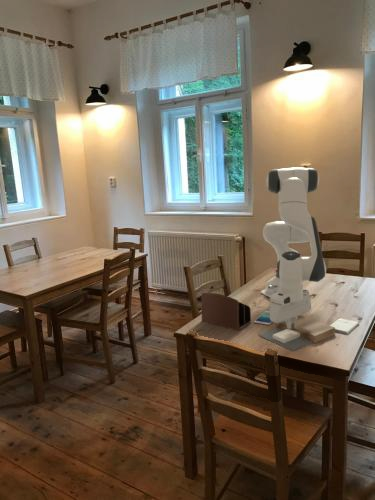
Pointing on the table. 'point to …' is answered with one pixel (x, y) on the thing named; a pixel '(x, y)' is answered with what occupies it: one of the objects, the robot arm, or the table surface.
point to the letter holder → (225, 311)
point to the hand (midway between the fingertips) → (291, 327)
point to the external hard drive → (344, 325)
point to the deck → (309, 329)
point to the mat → (290, 345)
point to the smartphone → (264, 318)
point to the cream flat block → (286, 335)
